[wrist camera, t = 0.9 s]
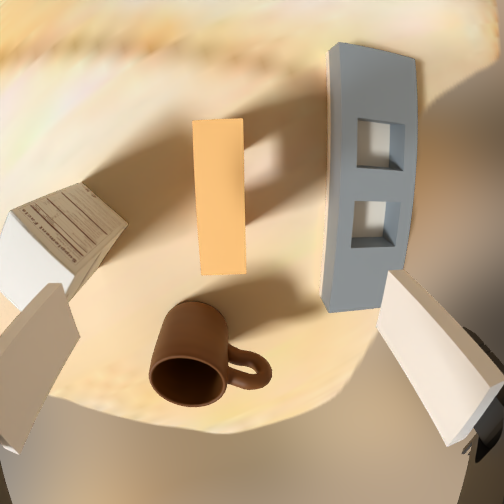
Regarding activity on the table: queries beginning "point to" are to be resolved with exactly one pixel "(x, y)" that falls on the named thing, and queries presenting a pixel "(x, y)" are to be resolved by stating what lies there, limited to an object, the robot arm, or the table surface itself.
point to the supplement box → (55, 243)
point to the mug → (200, 358)
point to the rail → (367, 173)
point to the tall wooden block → (220, 195)
